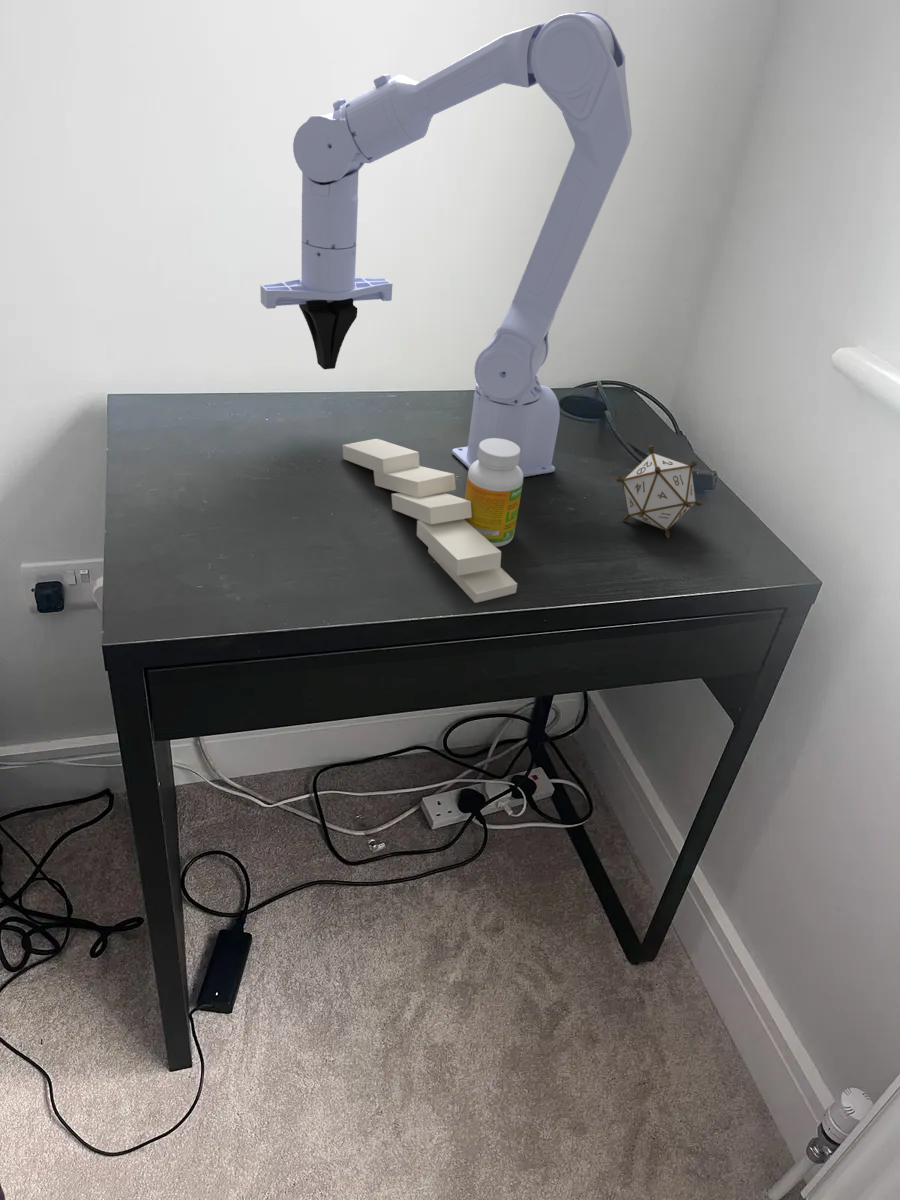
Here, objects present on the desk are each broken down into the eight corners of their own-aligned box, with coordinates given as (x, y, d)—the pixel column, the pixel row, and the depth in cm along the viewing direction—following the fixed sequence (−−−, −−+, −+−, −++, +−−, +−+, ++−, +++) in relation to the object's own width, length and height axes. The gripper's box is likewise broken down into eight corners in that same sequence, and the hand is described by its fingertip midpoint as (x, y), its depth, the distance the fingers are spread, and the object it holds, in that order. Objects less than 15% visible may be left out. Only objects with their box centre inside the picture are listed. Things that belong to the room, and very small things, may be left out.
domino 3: (429, 488, 96) (470, 501, 88) (430, 503, 96) (471, 517, 89) (391, 494, 94) (429, 507, 86) (392, 509, 94) (431, 524, 87)
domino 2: (408, 463, 100) (454, 474, 93) (410, 477, 100) (455, 489, 93) (373, 470, 98) (417, 482, 90) (375, 485, 98) (419, 497, 91)
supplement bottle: (509, 553, 90) (523, 464, 84) (455, 542, 90) (466, 453, 85) (517, 526, 94) (531, 440, 89) (466, 516, 95) (477, 430, 89)
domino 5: (468, 534, 90) (517, 583, 84) (466, 548, 91) (514, 598, 85) (428, 543, 88) (476, 594, 82) (427, 557, 89) (474, 608, 83)
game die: (642, 563, 98) (637, 520, 89) (606, 502, 102) (597, 456, 93) (718, 524, 98) (720, 478, 89) (678, 465, 101) (676, 415, 92)
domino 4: (457, 514, 90) (501, 551, 83) (457, 528, 91) (500, 567, 84) (417, 520, 89) (457, 559, 82) (416, 535, 89) (457, 575, 82)
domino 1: (376, 438, 104) (418, 452, 97) (377, 452, 105) (419, 466, 98) (342, 444, 102) (382, 459, 95) (343, 459, 102) (383, 474, 95)
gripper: (376, 229, 102) (370, 347, 110) (249, 233, 96) (253, 358, 104) (403, 247, 97) (395, 369, 105) (272, 252, 91) (274, 382, 99)
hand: (326, 365), depth 104 cm, fingers closed
